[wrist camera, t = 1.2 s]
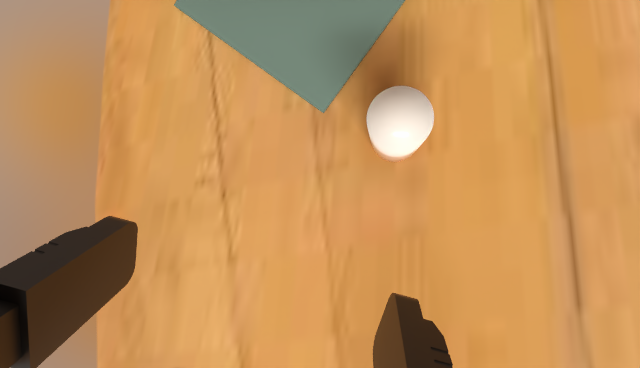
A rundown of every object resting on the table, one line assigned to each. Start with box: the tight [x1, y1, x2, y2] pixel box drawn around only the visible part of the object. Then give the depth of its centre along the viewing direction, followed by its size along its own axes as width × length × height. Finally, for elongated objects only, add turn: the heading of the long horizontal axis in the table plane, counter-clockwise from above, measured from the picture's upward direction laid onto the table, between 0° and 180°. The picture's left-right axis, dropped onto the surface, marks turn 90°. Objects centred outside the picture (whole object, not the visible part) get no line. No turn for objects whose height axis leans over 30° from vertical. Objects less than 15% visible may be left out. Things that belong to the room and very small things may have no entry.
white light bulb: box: [367, 86, 434, 162], centre depth 28 cm, size 4×4×9 cm
